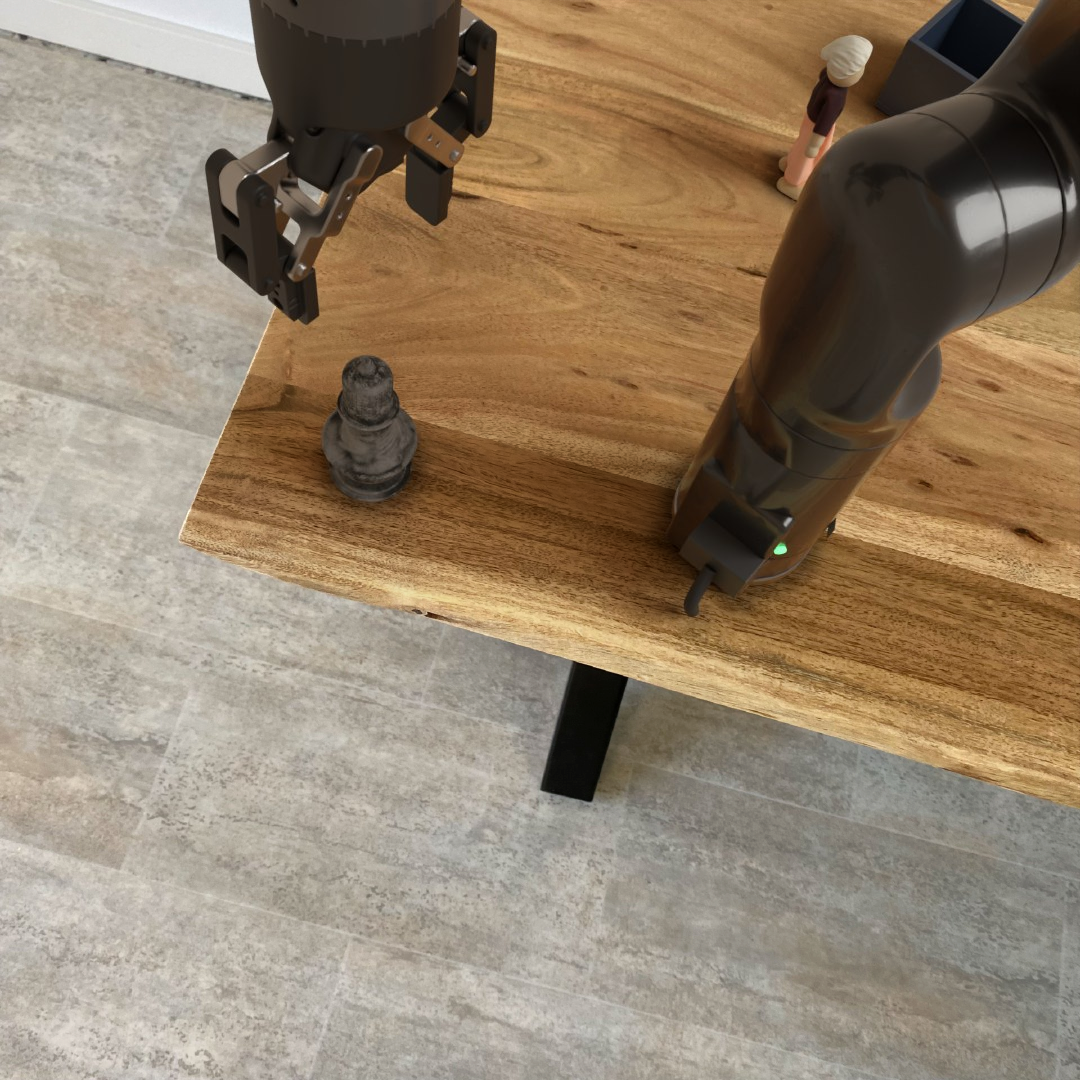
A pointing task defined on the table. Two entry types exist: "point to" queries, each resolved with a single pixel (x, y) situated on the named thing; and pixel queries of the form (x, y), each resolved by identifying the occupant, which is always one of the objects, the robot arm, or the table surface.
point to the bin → (948, 54)
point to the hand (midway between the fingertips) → (364, 260)
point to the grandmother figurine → (823, 110)
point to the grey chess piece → (369, 434)
